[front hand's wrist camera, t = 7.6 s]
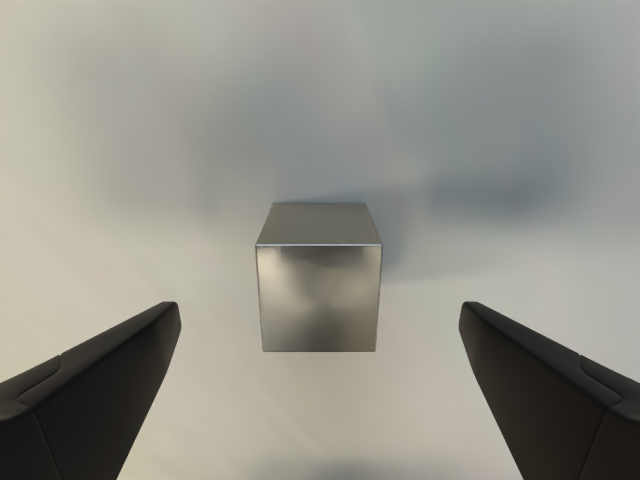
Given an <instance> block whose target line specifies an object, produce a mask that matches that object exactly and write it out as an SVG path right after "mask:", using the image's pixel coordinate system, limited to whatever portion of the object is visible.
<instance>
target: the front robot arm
mask: <svg viewBox="0 0 640 480" xmlns="http://www.w3.org/2000/svg"><path fill="white" fill-rule="evenodd" d="M180 332H181V320H180V314H179V308H178V305H177V303H176V302H161V303H159V304H157V305H155V306H154V307H152V308H150V309H148V310H146V311H144V312H142V313H140V314H138V315H136V316H134V317H132V318H130V319H128V320H126V321H124V322H122V323H120V324H118V325H116V326H114V327H112V328H110V329H108V330H107V331H105V332H103V333H101V334H99V335H97V336H95V337H93V338H91V339H89V340H87V341H85V342H83V343H81V344H79V345H77V346H75V347H73V348H71V349H69V350H67V351H65V352H63V353H62V354H61V356H60V355H57V356H55V357H54V358H52V359H50V360H48V361H46V362H44V363H42V364H40V365H38V366H36V367H34V368H32V369H30V370H28V371H25V372H23V373H21V374H19V375H17V376H15V377H12V378H10V379H8V380H6V381H4V382H2V383H0V480H116V479H117V477H118V475H119V473H120V471H121V469H122V467H123V465H124V462H125V460H126V458H127V456H128V454H129V452H130V450H131V448H132V445H133V443H134V441H135V439H136V437H137V435H138V433H139V431H140V428H141V426H142V424H143V422H144V420H145V418H146V416H147V414H148V412H149V409H150V407H151V405H152V403H153V401H154V399H155V397H156V395H157V392H158V390H159V388H160V386H161V384H162V382H163V380H164V377H165V375H166V373H167V370H168V367H169V365H170V362H171V359H172V356H173V353H174V350H175V347H176V344H177V341H178V338H179V335H180ZM459 332H460V335H461V338H462V341H463V344H464V347H465V350H466V353H467V356H468V359H469V362H470V365H471V367H472V370H473V373H474V375H475V377H476V380H477V382H478V384H479V386H480V388H481V390H482V392H483V395H484V397H485V399H486V401H487V403H488V405H489V407H490V409H491V412H492V414H493V416H494V418H495V420H496V422H497V424H498V426H499V428H500V431H501V433H502V435H503V437H504V439H505V441H506V443H507V445H508V448H509V450H510V452H511V454H512V456H513V458H514V460H515V462H516V465H517V467H518V469H519V471H520V473H521V475H522V477H523V479H524V480H640V383H638V382H636V381H634V380H632V379H630V378H628V377H625V376H623V375H621V374H619V373H617V372H615V371H612V370H610V369H608V368H606V367H604V366H602V365H600V364H598V363H596V362H594V361H592V360H590V359H588V358H586V357H585V356H583V355H580V356H579V354H578V353H577V352H575V351H573V350H571V349H569V348H567V347H565V346H563V345H561V344H559V343H557V342H555V341H553V340H551V339H549V338H547V337H545V336H543V335H541V334H539V333H537V332H535V331H533V330H531V329H530V328H528V327H526V326H524V325H522V324H520V323H518V322H516V321H514V320H512V319H510V318H508V317H506V316H504V315H502V314H500V313H498V312H496V311H494V310H492V309H490V308H488V307H486V306H485V305H483V304H481V303H479V302H464V303H463V305H462V308H461V314H460V320H459Z"/></svg>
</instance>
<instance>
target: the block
mask: <svg viewBox="0 0 640 480" xmlns="http://www.w3.org/2000/svg"><path fill="white" fill-rule="evenodd" d="M255 252H256V265H257V279H258V293H259V307H260V321H261V335H262V348H263V352H375V351H376V339H377V325H378V311H379V297H380V283H381V268H382V254H383V244H382V242H381V239H380V237H379V235H378V232H377V230H376V228H375V225H374V223H373V220H372V218H371V216H370V213H369V211H368V209H367V206H366V204H273V205H272V207H271V209H270V212H269V214H268V217H267V219H266V221H265V224H264V226H263V228H262V231H261V233H260V235H259V238H258V240H257V242H256V245H255Z"/></svg>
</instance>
